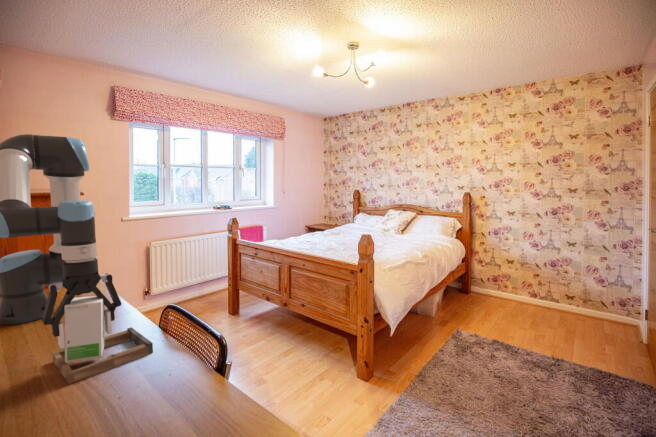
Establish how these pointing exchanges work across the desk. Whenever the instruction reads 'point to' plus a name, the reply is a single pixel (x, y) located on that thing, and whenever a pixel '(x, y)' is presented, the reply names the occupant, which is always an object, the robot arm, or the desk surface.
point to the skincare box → (84, 329)
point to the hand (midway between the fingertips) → (86, 339)
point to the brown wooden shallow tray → (111, 361)
